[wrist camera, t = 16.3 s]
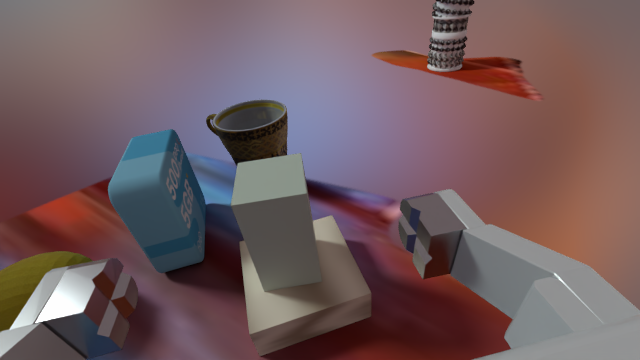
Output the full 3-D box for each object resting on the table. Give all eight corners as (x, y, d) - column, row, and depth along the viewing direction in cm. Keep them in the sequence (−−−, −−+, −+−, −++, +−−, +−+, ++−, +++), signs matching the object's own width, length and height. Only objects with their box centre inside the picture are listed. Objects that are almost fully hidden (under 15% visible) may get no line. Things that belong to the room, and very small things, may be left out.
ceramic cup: (307, 160, 48) (298, 101, 43) (278, 199, 41) (262, 134, 35) (240, 151, 53) (223, 96, 47) (203, 185, 46) (178, 125, 40)
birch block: (260, 358, 25) (249, 334, 23) (248, 266, 33) (239, 241, 31) (371, 319, 27) (371, 292, 25) (334, 240, 35) (332, 215, 33)
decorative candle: (472, 67, 75) (496, -60, 61) (439, 74, 74) (456, -54, 59) (448, 59, 83) (465, -56, 68) (418, 65, 81) (429, -52, 66)
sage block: (264, 291, 26) (230, 205, 20) (265, 246, 30) (237, 162, 24) (322, 281, 26) (306, 193, 20) (315, 237, 30) (301, 153, 24)
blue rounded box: (204, 267, 33) (159, 180, 26) (161, 280, 32) (102, 193, 25) (206, 201, 43) (173, 124, 35) (173, 210, 42) (133, 132, 35)
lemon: (131, 272, 34) (92, 220, 29) (122, 337, 28) (70, 285, 23) (17, 311, 31) (-46, 261, 26) (-21, 392, 25) (-112, 346, 20)
